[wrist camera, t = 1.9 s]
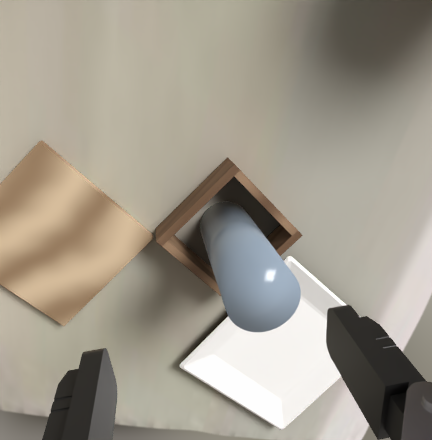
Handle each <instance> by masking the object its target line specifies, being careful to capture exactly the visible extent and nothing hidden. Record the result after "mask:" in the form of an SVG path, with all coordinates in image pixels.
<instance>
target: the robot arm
mask: <svg viewBox="0 0 432 440" xmlns="http://www.w3.org/2000/svg"><path fill="white" fill-rule="evenodd" d="M326 344H327V349H328V352H329V355H330V357H331V359H332V361H333V362H334V364H335V366H336V368H337V369H338V371H339V373H340V375H341V376H342V378H343V380H344V382H345V383H346V385H347V387H348V389H349V390H350V392H351V394H352V396H353V397H354V399H355V401H356V403H357V404H358V406H359V408H360V410H361V411H362V413H363V415H364V416H365V418H366V420H367V422H368V423H369V425H370V427H371V428H372V430H373V432H374V434H375V436H376V437H377V439H378V440H379V439H384V438H389V437H390V438H391V440H432V382H427V381H426V380H425V379H424V378H423V377H422V375H421V374H420V373H419V372H418V371H417V369H416V368H415V367H414V366H413V365H412V364H411V362H410V361H409V360H408V359H407V357H406V356H405V355H404V354H403V352H402V351H401V350H400V349H399V348H398V347H397V346H396V344H395V343H394V341H393V340H392V339H391V338H389V335H388V334H387V333H386V332H385V331H384V329H383V328H382V327H381V326H380V325H379V324H378V323H376V322H375V321H373V320H372V319H370V318H368V317H367V316H366V317H359V316H358V314H357V313H356V312H355V310H354V309H353V308H352V307H351V306H350V305H344V306H338V307H333V308H329V309H328V311H327V329H326ZM116 404H117V384H116V379H115V375H114V372H113V368H112V365H111V361H110V358H109V354H108V351H107V349H106V348H104V349H98V350H92V351H87V352H83V354H82V357H81V361H80V365H79V369H75V370H70V371H68V372H67V373H66V375H65V376H64V377H63V379H62V380H61V381H60V383H59V384H58V387H57V391H56V394H55V398H54V402H53V405H52V408H51V414H50V415H49V418H48V422H47V426H46V429H45V432H44V436H43V439H42V440H113V431H114V422H115V413H116Z"/></svg>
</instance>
